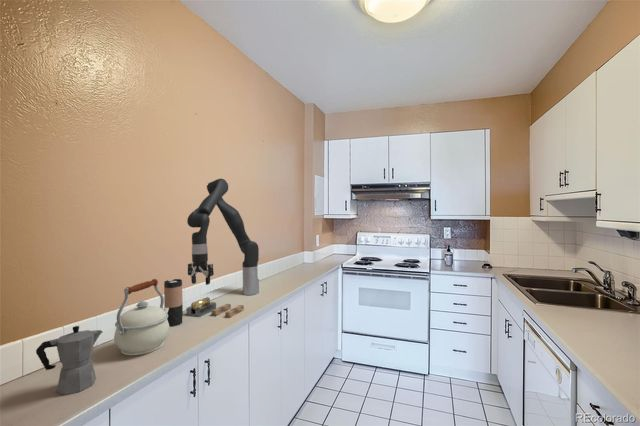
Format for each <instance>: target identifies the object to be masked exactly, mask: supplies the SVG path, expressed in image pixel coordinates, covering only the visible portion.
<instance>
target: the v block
mask: <svg viewBox="0 0 640 426" xmlns="http://www.w3.org/2000/svg"><path fill="white" fill-rule="evenodd" d="M215 309H217V303H216V302H213V301H210V303H208V304H206V305H204V306H202V307H199V308H197V309H195V310H193V309H192V308H191V305H190V306H188V307H186V308H185V310H186V311H185V312H186V316H190V317H191V316H192V317H198V318H201V317H203V316H205V315H207V314H209V313H212V311H213V310H215Z"/></svg>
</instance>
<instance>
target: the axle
mask: <svg viewBox="0 0 640 426" xmlns="http://www.w3.org/2000/svg"><path fill="white" fill-rule="evenodd" d="M208 303H211V299H210V297H208V296H206V297H204V298H201V299H198V300H196V301H193V302H192V303H191V304H190V306H191V308H192V309H193V310H195V309H197V308H199V307H202V306H204V305H206V304H208Z"/></svg>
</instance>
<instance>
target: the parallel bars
mask: <svg viewBox="0 0 640 426" xmlns="http://www.w3.org/2000/svg"><path fill="white" fill-rule="evenodd" d="M231 307H232V306H231V303H225V304H222V305H221V306H219V307H216V309H215V310H213V311H211V317H212V316H213V317H218V316H220V315H221V314H223V313H225V314H224V317H225V318H227V319H228V318H229V319H230V318H233V317H234V316H235V315H238V314H239V313H241V312H243V311H244V309H245V307H244V304H243V305H241V304H240V305H237V306H235V307H233V308H232V309H231Z"/></svg>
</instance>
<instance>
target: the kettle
mask: <svg viewBox="0 0 640 426" xmlns="http://www.w3.org/2000/svg"><path fill="white" fill-rule="evenodd" d="M158 284H159V281H158V279H157V278H153V279H151V280H149V281H144V282H141V283H137V284H134V285H133V286H126V287H124V290H123V291H124V299H123V301H122V303H121V305H120V307H119V309H118V311H117V314H116V322H115V323H114V326H115V328H116V329H115V332H114V335H113V341H114V344H115V346H116V347H117V348H118V349H119V350H120V353H121V354H122V355H124V356H131V357H133V356H141V355H146V354H149V353H152V352H155V351H156V350H157V351H158V350H159V349H160V348H161V347H162V346H163V345H164V344H165V340H166V339H167V337H168V336H169V333H170V326H169V323H168V320H167V318H168V314H167V313H168V310H169V308H164V295H163V294H162V292H161V291H160V290H159V288H158ZM152 286H153V288H154V291H156V293H157V294H158V295H159V299H160V305H159V306H156V305H149V303H148V302H147V301H145V300H141V301H139V302H138V303H137V304H136V305H135V306H136V307H133V308H131V309H129V310H126V311H125V312H124V313H123V311H124V308H125V306H126V304H127V302H128V300H129V296H130V295H131V294H132V293H137V292H139V291H143V290H145V289H148V288H150V287H152Z"/></svg>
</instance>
